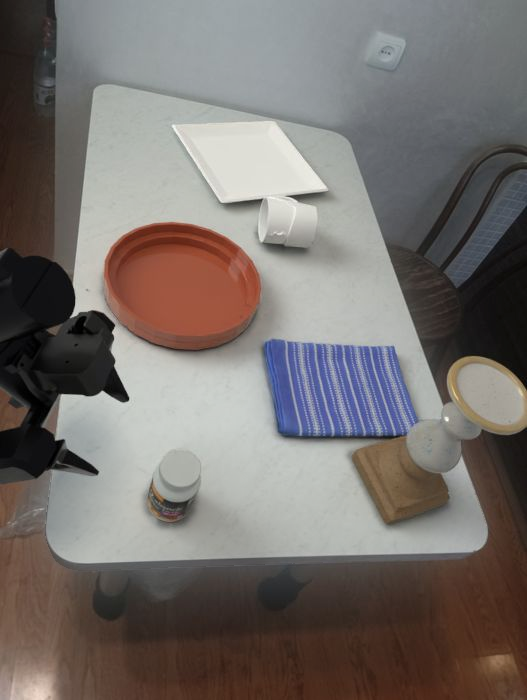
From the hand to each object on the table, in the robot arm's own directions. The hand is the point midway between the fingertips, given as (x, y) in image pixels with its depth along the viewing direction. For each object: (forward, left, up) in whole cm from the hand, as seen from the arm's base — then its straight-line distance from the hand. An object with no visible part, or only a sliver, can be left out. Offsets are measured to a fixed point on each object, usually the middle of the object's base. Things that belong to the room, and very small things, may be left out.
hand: (111, 435), depth 58 cm
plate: (+27, +73, -13) cm, 79 cm away
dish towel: (+35, +15, -13) cm, 40 cm away
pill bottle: (+8, -2, -13) cm, 15 cm away
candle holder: (+41, 0, -13) cm, 43 cm away
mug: (+31, +51, -13) cm, 61 cm away
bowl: (+11, +34, -13) cm, 38 cm away
